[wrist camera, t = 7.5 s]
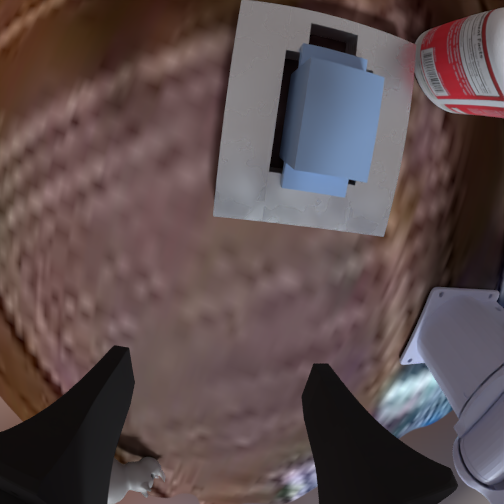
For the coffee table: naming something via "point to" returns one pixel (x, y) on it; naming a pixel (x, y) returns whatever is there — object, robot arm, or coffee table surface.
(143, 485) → the round bodied animal figurine
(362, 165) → the block
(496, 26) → the pill bottle
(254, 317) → the coffee table surface
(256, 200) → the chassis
